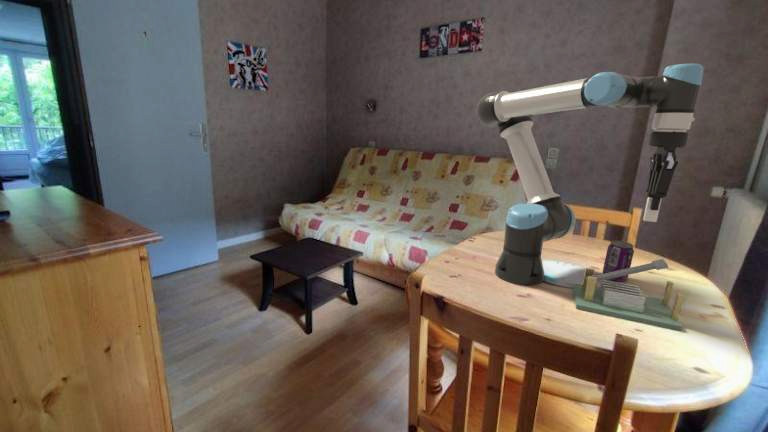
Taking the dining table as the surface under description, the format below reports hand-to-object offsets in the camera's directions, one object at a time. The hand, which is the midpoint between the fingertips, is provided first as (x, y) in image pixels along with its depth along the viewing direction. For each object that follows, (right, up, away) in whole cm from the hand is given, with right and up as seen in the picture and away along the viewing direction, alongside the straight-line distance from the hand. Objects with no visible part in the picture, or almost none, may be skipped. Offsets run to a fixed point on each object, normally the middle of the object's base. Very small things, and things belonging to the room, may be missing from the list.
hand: (649, 220), depth 92 cm
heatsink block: (-6, -23, +3) cm, 24 cm away
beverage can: (+5, -19, +21) cm, 29 cm away
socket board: (-5, -24, +4) cm, 25 cm away
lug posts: (-5, -23, +3) cm, 24 cm away
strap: (-6, -15, +1) cm, 16 cm away
